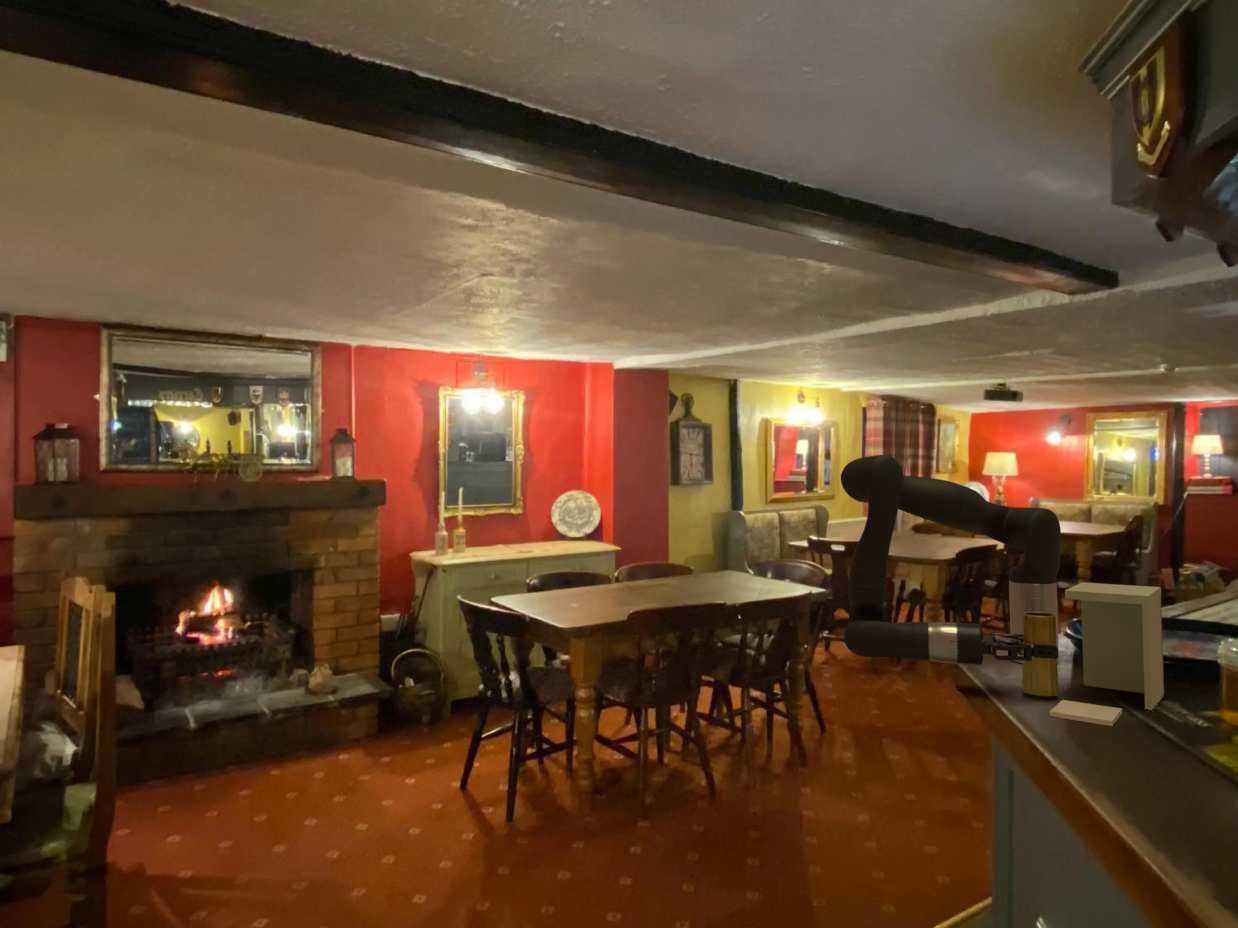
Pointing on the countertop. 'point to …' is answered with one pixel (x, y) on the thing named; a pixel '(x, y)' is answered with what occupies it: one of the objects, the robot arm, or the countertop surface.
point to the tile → (1086, 712)
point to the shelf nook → (1122, 638)
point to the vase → (1040, 671)
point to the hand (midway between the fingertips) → (1055, 648)
